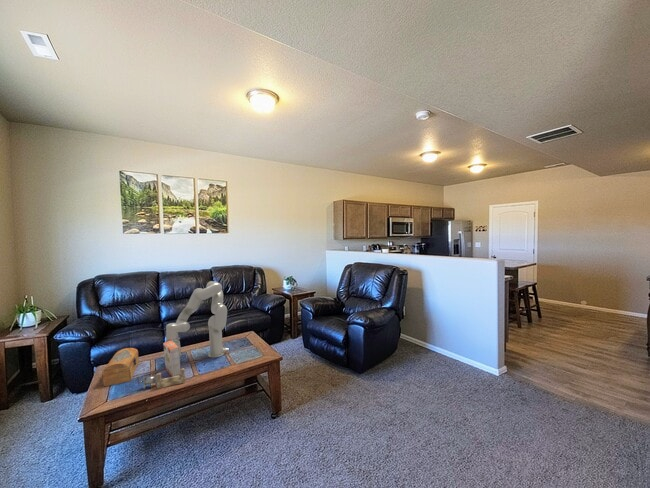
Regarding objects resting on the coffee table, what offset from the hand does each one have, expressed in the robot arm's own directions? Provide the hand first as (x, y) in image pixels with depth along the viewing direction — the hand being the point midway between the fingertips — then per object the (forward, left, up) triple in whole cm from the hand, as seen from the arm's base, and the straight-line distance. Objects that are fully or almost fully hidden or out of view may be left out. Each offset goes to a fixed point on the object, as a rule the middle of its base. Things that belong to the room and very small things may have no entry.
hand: (173, 364), depth 205 cm
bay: (0, +22, -2) cm, 22 cm away
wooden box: (+32, -8, -3) cm, 33 cm away
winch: (+13, +22, -2) cm, 26 cm away
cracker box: (0, +9, -2) cm, 9 cm away
